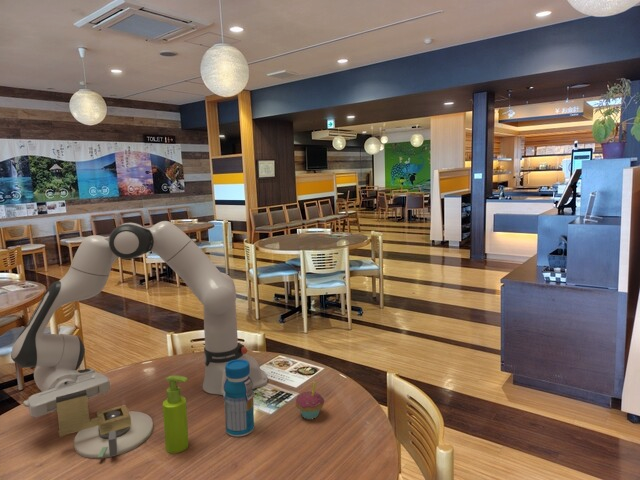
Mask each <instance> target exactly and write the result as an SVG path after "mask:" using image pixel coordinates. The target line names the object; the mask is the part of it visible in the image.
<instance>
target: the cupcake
mask: <svg viewBox="0 0 640 480" xmlns="http://www.w3.org/2000/svg"><path fill="white" fill-rule="evenodd" d="M316 381H317V380H316V379H315V380H314V381H313V384H312V391H305V392H302V393H300V394H299V395H298V396H297V397H296V399H295V400H296V401H295V407H296V408H297V409H298V410H300V412H301V417H302V418H303V417H304V419H305V418H307V419H306V420H308V419H312V418H315V417H317V416H318V417H319V415H320V414H319V413H320V410H321V409H322V408H323V406H324V404H325V398H324V397H323V396H322V395H321V393H319V392H316V391H315V390H316V385H317V384H316ZM318 417H317V418H318ZM315 419H316V418H315ZM312 420H313V419H312Z"/></svg>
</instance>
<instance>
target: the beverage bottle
mask: <svg viewBox="0 0 640 480" xmlns="http://www.w3.org/2000/svg"><path fill="white" fill-rule="evenodd" d="M225 371H226V377H227V379H226V381H225V384H224V391H225V393H224V396H223V404H224V417H225V418H224V419H225V432H226V433H227V434H228V436H231V437H236V438H237V437H243V436H247V435H249V434H250V433H252V432H253V431H254V428H255V413H254V412H255V411H254V409H255V408H254V407H255V406H254V389H252V388H253V383H252V380H251V379H250V377H249V373H250V365H249V362H248V361H247V360H243V359H236V360H232V361H229V362H228V363H227V364H226V366H225Z"/></svg>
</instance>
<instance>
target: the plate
mask: <svg viewBox="0 0 640 480" xmlns="http://www.w3.org/2000/svg"><path fill="white" fill-rule="evenodd" d="M128 412H129V414H130V417H131V426H130V429H129V431H128V432H127V433H126V434H124V435H122V436H120V437H117V438H116V430H115V431H110V432H109V439H103V438H101V437H100V436H99V430H98V428H99V426H98V425H97V426H94V427H91V428H87V429H84V430H81V431H77V434H76V435H75V437H74V440H73V444H74V450H75V452H76V453H77V454H78V455H79V456H80V457H84V458H87V459H106V458H107V459H108V458H112V457H116V456H120V455H122V454H125V453H128V452H130V451H133V450H134V449H136V448H137V447H139V446H140V445H142V444H143V443H145V442H146V441H147V440H148V439H149V437H151V435H152V433H153V430H154V423H153V419H152V418H151V416H149V415H148V414H146V413H144V412H141V411H132V410H131V411H129V410H128Z"/></svg>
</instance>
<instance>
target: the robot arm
mask: <svg viewBox="0 0 640 480" xmlns="http://www.w3.org/2000/svg"><path fill="white" fill-rule="evenodd" d="M150 252H152V253H155V254H156V255H157V256H158V257H159V258H160V259H161V260H162V261H164V262H165V265H167V266H168V267H170V269H171V270H173V272H175V274H176V275H177V276H178V277H180V279H181V280H182V281H183V283H185V285H186V286H187V287H188V288H189V290H190V291H191V292H192V293H193V294H194V296H195V297H196V298H197V300H198V301H199V303H201V304H202V305H203V330H204V331H203V333H204V347H203V348H204V349H203V360H204V365H205V369H204V376H203V377H204V379H203V382H202V387H201V388H202V390H203V391H204V392H206V393H208V394H210V395H211V394H212V395H220V396H223V397H224V393H225V391H224V384H225V381H226V379H227V377H226V371H225V366H226V364H227V363H228V362H229V361H232V360H236V359H243V360H247V361H248V362H249V365H250V373H249V377H250V379H251V380H252V383H253V388H252V390H255V389H257V388H260V387H263V386H266V385H267V384H268V382H269V381H268V375H267V374H266V373H265V371H264V370H263V369H262V368H261V366H260V364H259V362H258V361H257V360H256V359H255V358H254V357H253V356H251V355H249V354H247V353H248V349H247V347H245V346H244V345H243V343H241V342H239V340H238V319H237V305H236V304H237V303H236V300H237V293H236V285H235V281H234V280H233V278H232V277H231V276H230V275H228V274H227V273H225V272H221V271H220V270H219V269H218V268H217V266H216V265H215V264H214V262H212V260H211V259H210V257H209V256H208V255H207V254H206V253H205V252H204V250H202V249H201V247H199V246H198V245H197V244H196V243H195V241H193V240H192V239H191V238H190V236H188V235H187V234H186V233H185V232H184V231H183V230H182V229H180V228H179V227H178V226H176V225H175V224H174V223H173V222H171V221H168V220H162V221H158V222H157V223H155V224H154V225H152V226H151V227H148V228H147V227H145V226H143V224H140V223H136V222H124V223H122V224H119V225H118V226H116V227H115V228H114V229H113V230H111V232H110V233H109V236H103V235H95V234H94V235H92V234H91V235H89V236H86V237H85V238H84V239H83V240H82V242H81V243H80V245H79V246H78V248H77V250H76V252H75V254H74V257H73V258H72V261H71V264H70V267H69V269H68V271H67V272H66V273H65V275H63V277H62V278H61V279H59V280H58V281H54V282H52V283H51V284H50V286H49V287H47V289H46V291H45V293H44V294H43V295H42V297H41V299H40V301H39V302H38V304H37V306H36V308H35V310H34V311H33V312H32V315H31V317H30V318H29V320H28V322H27V324H25V325H26V326H25V327H24V328H23V330H22V331H21V333H20V334H19V335H18V337H17V338H16V340H15V342H14V343H13V346H12V348H11V354H10V357H11V359H12V361H13V362H14V363H15V364H16V365H17V366H18V367H20V368H21V369H25V368H34V370H33V378H34V382H35V384H36V386H37V388H38V389H39V390H40V392H38V393H34V394H32V395H30V396H29V397H28V398H27V399H25V400H24V401H23V403H22V404H23V406H24V407H25V408H28V410H29V414H30V416H31V417H32V418H39V417H43V416H45V415H47V414H48V415H49V414H50V413H53V412H57V403H56V397H59V396H63V395H67V394H71V393H75V392H79V391H83V390H86V392H87V401H88V402H89V399H91V398H95V397H98V396H100V395H103V394H106V393H108V392H110V390H111V381H110V380H111V379H109V377H108V376H107V375H105V374H104V373H101V372H97V371H96V370H95V368H92V367H91V368H85V369H80V370H79V368H80V366H81V364H82V363H83V361H84V357H85V352H86V350H85V345H84V342H83V341H82V339H81V337H80V336H79V335H76V334H64V333H63V334H62V333H61V334H59V333H58V334H57V333H46V332H45V333H44V331H45V330H46V328H47V326H48V324H49V323H50V321H51V319H52V317H53V315H54V314H55V312H56V311H57V310H58V309H59V308H61V307H62V306H65V305H67V304H70V303H71V304H72V303H73V302H78V301H84V300H88V299H91V298H93V297H95V296H97V295H98V294H100V293H101V292H102V291H103V290H104V288H105V287H106V285H107V282H108V280H109V276H110V273H111V271H112V267H113V265H114V263H115V261H116V260H117V259H119V258H120V259H123V260H131V259H136V258H139V257H140V256H142V255H145V254H147V253H150Z"/></svg>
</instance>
